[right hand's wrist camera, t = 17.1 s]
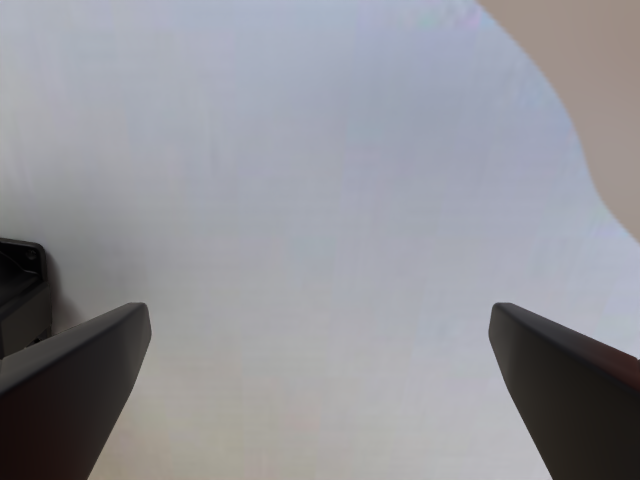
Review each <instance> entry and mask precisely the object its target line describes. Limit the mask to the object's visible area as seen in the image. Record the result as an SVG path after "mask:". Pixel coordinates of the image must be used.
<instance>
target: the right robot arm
mask: <svg viewBox="0 0 640 480" xmlns="http://www.w3.org/2000/svg"><path fill="white" fill-rule="evenodd" d="M31 250H33V251H34V252H35V253H36V256H35V255H33V254H32V252H31ZM51 323H52V312H51V297H50V286H49V284H48V282H47V267H46V253H45V249H44V248H43V247H42V246H41V245H40V244H37V243H33V242H26V241H19V240H12V239H5V238H0V480H87V479H88V477H89V475H90V473H91V471H92V469H93V467H94V465H95V463H96V461H97V459H98V457H99V455H100V453H101V451H102V449H103V447H104V445H105V443H106V441H107V439H108V437H109V435H110V433H111V431H112V429H113V427H114V425H115V423H116V421H117V419H118V417H119V415H120V413H121V411H122V409H123V407H124V405H125V403H126V401H127V399H128V397H129V395H130V393H131V391H132V389H133V386H134V384H135V381H136V379H137V376H138V373H139V370H140V368H141V365H142V362H143V359H144V357H145V354H146V351H147V348H148V346H149V343H150V340H151V325H150V319H149V312H148V308H147V305H146V304H145V303H128V304H125V305H123V306H121V307H119V308H116V309H114V310H112V311H109V312H107V313H105V314H103V315H100V316H98V317H96V318H93V319H91V320H89V321H87V322H84V323H82V324H80V325H77V326H75V327H73V328H71V329H68V330H66V331H64V332H61V333H59V334H57V335H55V336H52V337H51ZM39 339H41V340H42V341H40V340H39ZM489 340H490V343H491V346H492V348H493V351H494V354H495V357H496V359H497V362H498V365H499V368H500V370H501V373H502V376H503V379H504V381H505V384H506V386H507V389H508V391H509V393H510V395H511V397H512V399H513V401H514V403H515V405H516V407H517V409H518V411H519V413H520V415H521V417H522V419H523V421H524V423H525V425H526V427H527V429H528V431H529V433H530V435H531V437H532V439H533V441H534V443H535V445H536V447H537V449H538V451H539V453H540V455H541V457H542V459H543V461H544V463H545V465H546V467H547V469H548V471H549V473H550V475H551V477H552V479H553V480H640V360H637V358H636V357H633V356H631V355H629V354H627V353H624V352H622V351H620V350H617V349H615V348H613V347H611V346H608V345H606V344H604V343H601V342H599V341H597V340H595V339H592V338H590V337H588V336H585V335H583V334H581V333H579V332H576V331H574V330H572V329H569V328H567V327H565V326H563V325H560V324H558V323H556V322H553V321H551V320H549V319H547V318H544V317H542V316H540V315H537V314H535V313H533V312H531V311H528V310H526V309H524V308H521V307H519V306H517V305H515V304H512V303H495V304H494V305H493V308H492V312H491V319H490V325H489ZM25 347H26V348H25ZM24 348H25V349H24Z"/></svg>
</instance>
